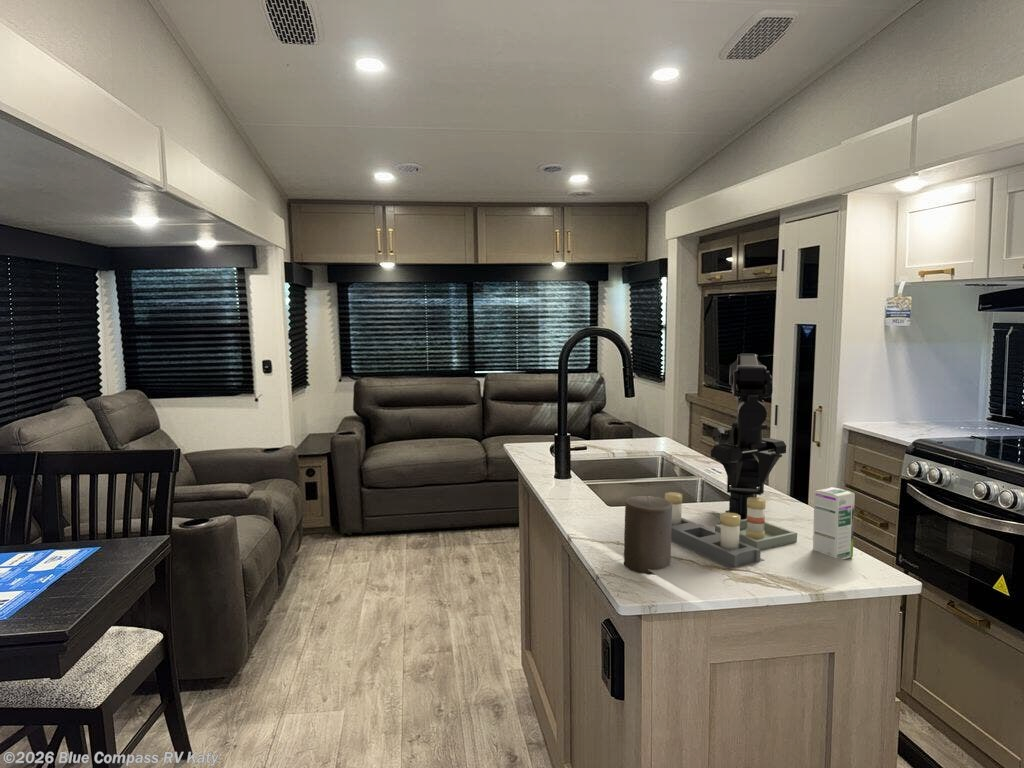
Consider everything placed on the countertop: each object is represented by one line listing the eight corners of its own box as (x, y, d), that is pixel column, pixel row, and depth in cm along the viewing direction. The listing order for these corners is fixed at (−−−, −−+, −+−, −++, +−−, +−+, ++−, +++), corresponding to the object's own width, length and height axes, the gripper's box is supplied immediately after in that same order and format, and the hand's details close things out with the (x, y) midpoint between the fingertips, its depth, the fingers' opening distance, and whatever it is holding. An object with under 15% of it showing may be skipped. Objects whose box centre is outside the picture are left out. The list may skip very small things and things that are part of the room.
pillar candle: (623, 572, 128) (625, 501, 126) (623, 555, 137) (625, 488, 136) (672, 576, 126) (675, 504, 124) (669, 558, 136) (671, 490, 134)
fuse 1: (673, 527, 152) (674, 491, 151) (685, 532, 149) (685, 495, 148) (660, 530, 151) (661, 493, 150) (671, 535, 147) (672, 497, 146)
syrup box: (836, 562, 132) (839, 495, 131) (811, 553, 137) (814, 489, 136) (853, 557, 135) (856, 492, 133) (828, 549, 140) (831, 485, 139)
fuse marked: (754, 533, 148) (755, 496, 147) (768, 538, 144) (769, 500, 143) (742, 536, 146) (743, 498, 145) (755, 541, 142) (757, 502, 142)
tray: (753, 529, 154) (753, 517, 153) (796, 545, 142) (797, 532, 142) (714, 537, 148) (714, 525, 148) (756, 555, 137) (756, 541, 136)
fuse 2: (729, 551, 136) (730, 511, 135) (743, 557, 133) (744, 516, 132) (715, 554, 134) (716, 514, 134) (729, 561, 131) (730, 519, 130)
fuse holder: (642, 532, 152) (643, 518, 152) (675, 526, 156) (675, 512, 156) (729, 573, 127) (729, 556, 127) (764, 564, 131) (765, 548, 131)
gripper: (751, 411, 156) (749, 472, 158) (694, 418, 148) (693, 482, 150) (788, 418, 146) (786, 483, 148) (730, 425, 138) (728, 494, 140)
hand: (747, 485), depth 147 cm, fingers open, 9 cm apart
